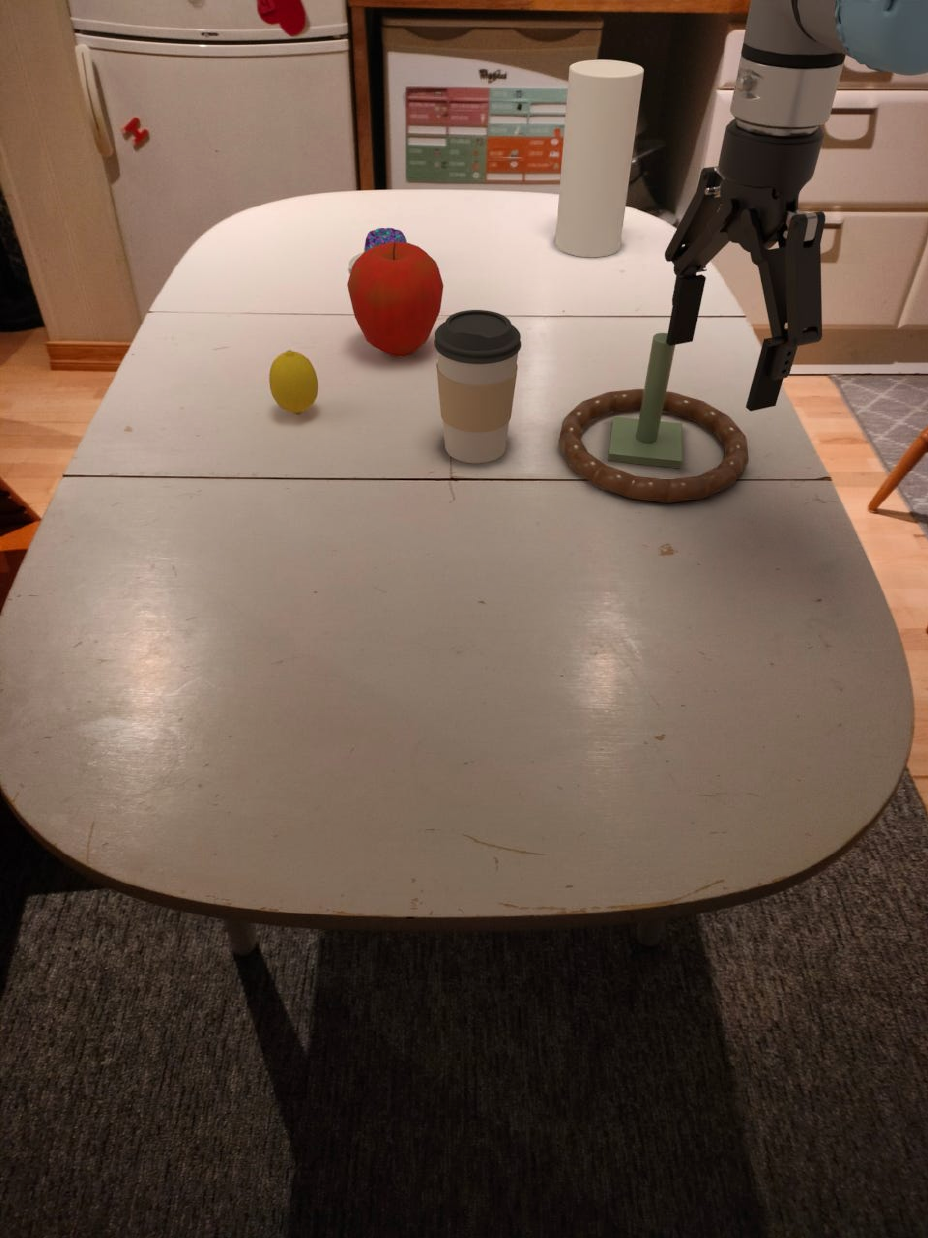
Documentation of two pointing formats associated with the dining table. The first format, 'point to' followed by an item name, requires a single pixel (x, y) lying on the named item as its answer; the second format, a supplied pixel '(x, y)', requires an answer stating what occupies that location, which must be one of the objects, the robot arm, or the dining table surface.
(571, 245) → the tall pillar cylinder
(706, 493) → the ring
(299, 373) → the lemon
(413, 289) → the apple
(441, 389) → the coffee cup
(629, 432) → the post
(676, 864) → the dining table surface
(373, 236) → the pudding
